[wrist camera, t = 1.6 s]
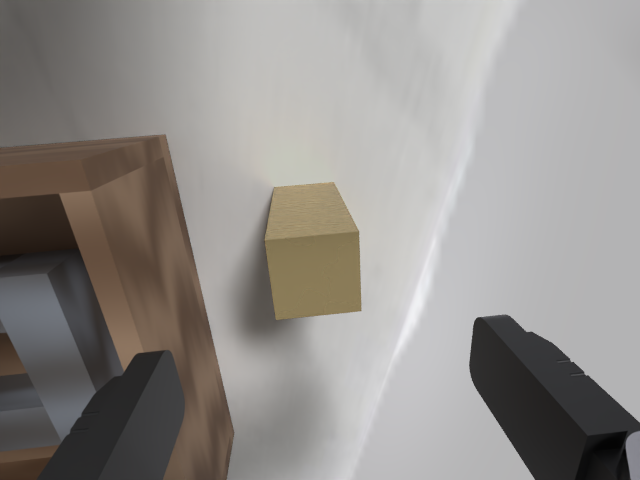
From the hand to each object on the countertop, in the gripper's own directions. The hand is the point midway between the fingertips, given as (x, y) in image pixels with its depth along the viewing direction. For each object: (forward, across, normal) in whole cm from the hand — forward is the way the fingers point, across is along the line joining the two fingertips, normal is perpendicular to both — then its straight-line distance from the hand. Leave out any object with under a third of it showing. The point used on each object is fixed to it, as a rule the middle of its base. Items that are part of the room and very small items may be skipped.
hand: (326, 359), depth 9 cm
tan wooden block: (+12, 0, 0) cm, 12 cm away
